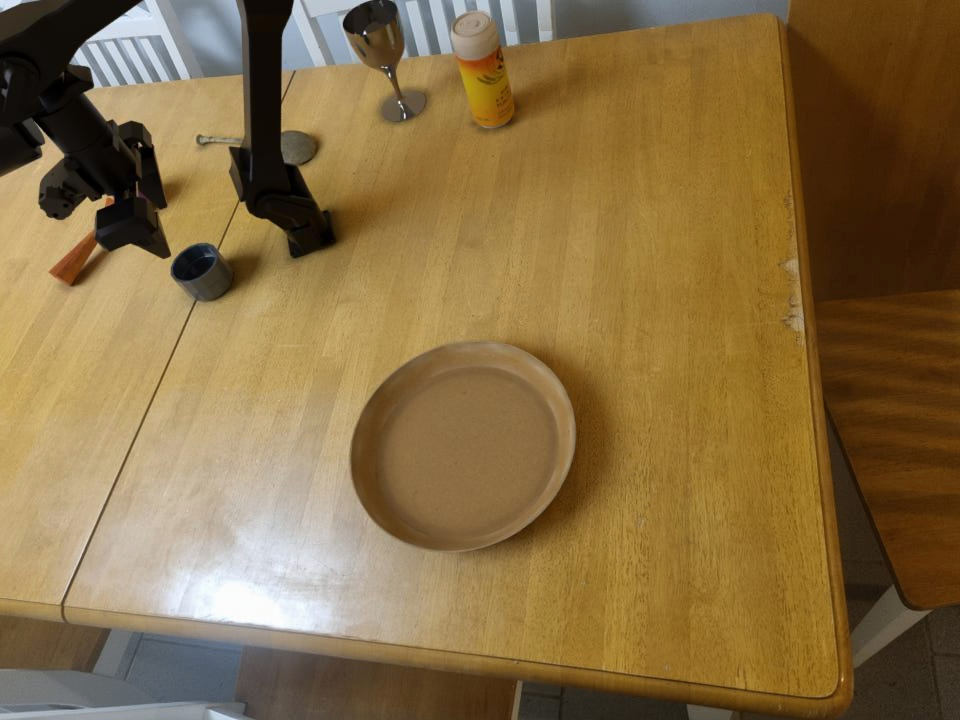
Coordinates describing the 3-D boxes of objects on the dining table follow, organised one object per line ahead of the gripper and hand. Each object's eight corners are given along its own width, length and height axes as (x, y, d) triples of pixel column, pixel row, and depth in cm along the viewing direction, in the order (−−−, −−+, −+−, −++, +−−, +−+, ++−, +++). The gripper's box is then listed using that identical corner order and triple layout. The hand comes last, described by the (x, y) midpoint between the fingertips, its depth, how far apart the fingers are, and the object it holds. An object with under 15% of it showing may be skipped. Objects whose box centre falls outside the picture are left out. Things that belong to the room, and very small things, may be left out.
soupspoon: (305, 174, 110) (325, 145, 113) (297, 156, 107) (318, 127, 110) (190, 156, 117) (212, 130, 120) (180, 139, 114) (202, 113, 118)
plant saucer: (333, 550, 75) (320, 539, 73) (387, 352, 88) (377, 337, 85) (566, 575, 69) (562, 564, 66) (589, 358, 81) (586, 341, 78)
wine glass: (378, 95, 115) (342, 7, 103) (427, 83, 114) (397, -7, 102) (378, 128, 111) (341, 40, 98) (429, 116, 110) (398, 25, 97)
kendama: (32, 262, 105) (120, 160, 112) (67, 287, 110) (150, 187, 116) (50, 269, 102) (140, 163, 108) (85, 294, 106) (169, 191, 112)
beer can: (511, 130, 104) (489, 35, 92) (470, 131, 106) (443, 39, 93) (518, 101, 107) (498, 6, 95) (479, 103, 109) (453, 10, 96)
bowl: (188, 274, 103) (169, 253, 99) (232, 257, 103) (216, 236, 99) (189, 310, 99) (170, 289, 95) (236, 292, 99) (219, 271, 95)
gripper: (19, 112, 84) (106, 207, 97) (6, 218, 73) (106, 309, 86) (108, 76, 84) (184, 176, 97) (109, 177, 73) (193, 275, 86)
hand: (165, 231), depth 92 cm, fingers open, 9 cm apart
